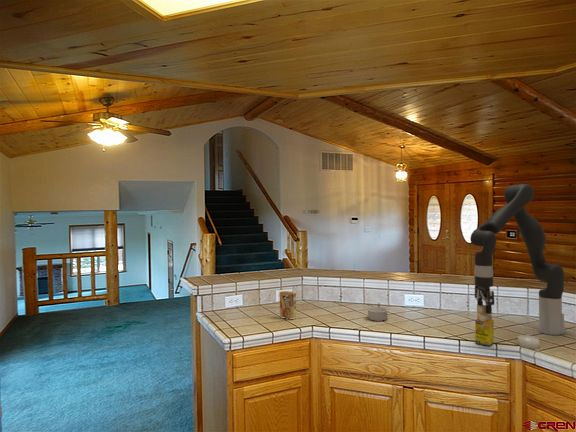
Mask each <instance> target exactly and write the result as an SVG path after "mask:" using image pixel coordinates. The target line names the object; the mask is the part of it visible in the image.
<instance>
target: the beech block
mask: <svg viewBox="0 0 576 432" xmlns="http://www.w3.org/2000/svg"><path fill="white" fill-rule="evenodd" d="M492 314H493V313H491V314H487V313H486V304H483V305H476V319H479V320H480V321H492V320H493V315H492Z"/></svg>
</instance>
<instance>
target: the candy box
mask: <svg viewBox="0 0 576 432" xmlns="http://www.w3.org/2000/svg"><path fill="white" fill-rule="evenodd" d="M297 313H298V312H297V291H289V290H288V291H287V290H281V291H279V318H280V317H285V318H295V317H297Z"/></svg>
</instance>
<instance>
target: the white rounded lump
mask: <svg viewBox="0 0 576 432" xmlns="http://www.w3.org/2000/svg"><path fill="white" fill-rule="evenodd" d="M517 345H518V346H520V347H521V348H525V349H529V350H530V349H532V350H535V349H536V350H537V349H539V348H540V338H539V337H537V336H533V335H529V334H526V335H525V334H520V335H518V336H517Z"/></svg>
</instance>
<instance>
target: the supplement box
mask: <svg viewBox="0 0 576 432" xmlns="http://www.w3.org/2000/svg"><path fill="white" fill-rule="evenodd" d="M494 323H495V322H494V319H492V321H480V320H479V319H477V318H476V319H475V323H474V324H475V325H474V326H475V327H474V328H475V329H474V330H475V331H474V333H475V345H480V346H485V347H488V348H490V347H491V346H492V345H494V341H495V340H494V338H495V337H494V332H495V331H494V329H495V328H494V327H495V326H494Z"/></svg>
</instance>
